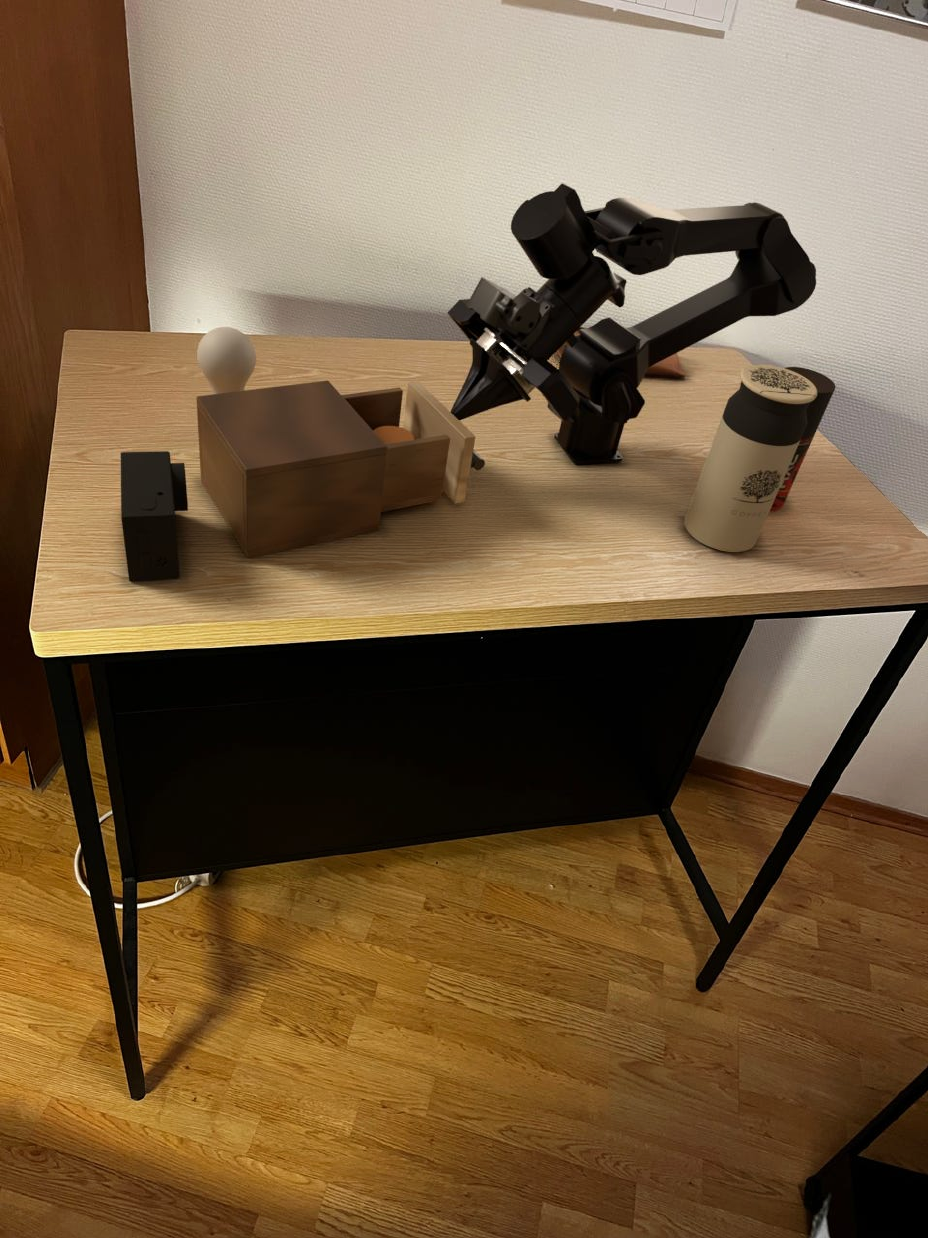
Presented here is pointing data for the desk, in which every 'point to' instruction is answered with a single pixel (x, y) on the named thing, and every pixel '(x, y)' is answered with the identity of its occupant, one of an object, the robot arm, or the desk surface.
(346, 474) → the cabinet
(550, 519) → the desk surface
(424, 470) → the drawer
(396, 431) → the stacked orange cylinders
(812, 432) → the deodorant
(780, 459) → the travel mug
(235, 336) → the lightbulb
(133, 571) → the digital camera
